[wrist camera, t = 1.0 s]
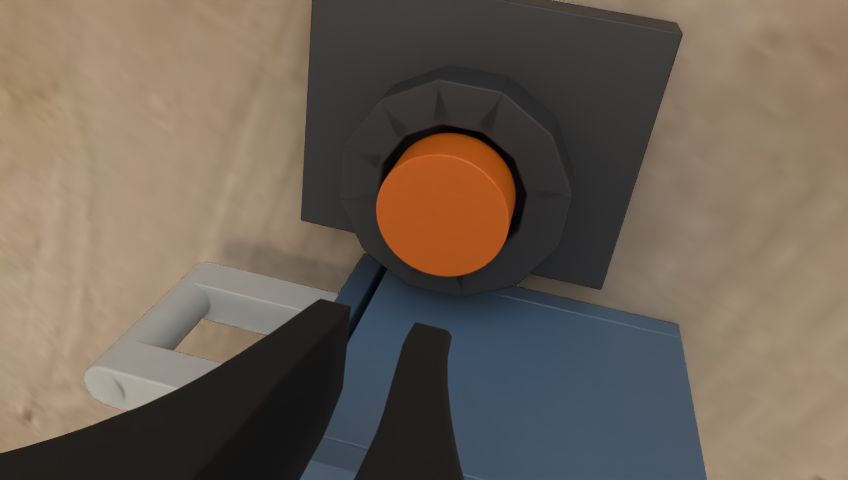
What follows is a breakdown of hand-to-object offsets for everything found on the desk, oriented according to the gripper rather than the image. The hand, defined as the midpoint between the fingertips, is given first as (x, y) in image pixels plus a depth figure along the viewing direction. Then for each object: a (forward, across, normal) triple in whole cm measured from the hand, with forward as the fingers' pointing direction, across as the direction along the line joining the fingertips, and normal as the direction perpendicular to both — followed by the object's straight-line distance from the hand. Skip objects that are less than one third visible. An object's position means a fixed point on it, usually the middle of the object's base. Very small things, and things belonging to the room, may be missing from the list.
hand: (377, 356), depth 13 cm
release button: (+8, 0, 0) cm, 8 cm away
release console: (+10, 0, -1) cm, 10 cm away
